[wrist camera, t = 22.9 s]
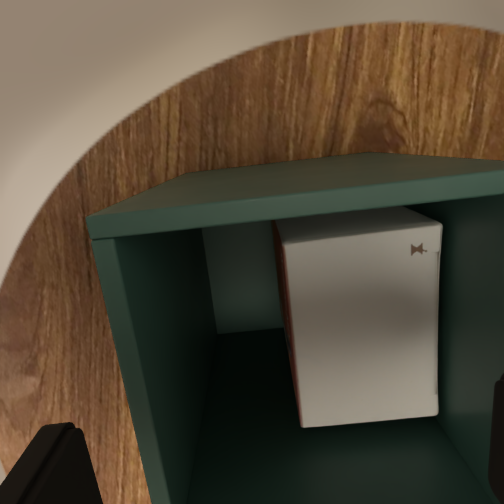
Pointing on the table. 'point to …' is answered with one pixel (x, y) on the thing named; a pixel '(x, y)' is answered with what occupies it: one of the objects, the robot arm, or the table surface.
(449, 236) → the bin
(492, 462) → the robot arm
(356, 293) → the small box
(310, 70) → the table surface
